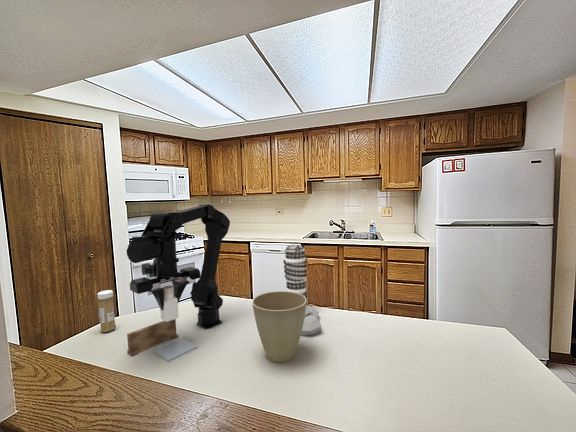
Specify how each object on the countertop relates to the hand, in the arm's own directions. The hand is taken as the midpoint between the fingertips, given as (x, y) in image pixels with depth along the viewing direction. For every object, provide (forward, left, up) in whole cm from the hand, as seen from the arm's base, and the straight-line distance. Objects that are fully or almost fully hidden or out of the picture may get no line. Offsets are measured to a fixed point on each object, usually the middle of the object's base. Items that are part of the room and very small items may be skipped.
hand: (169, 307), depth 84 cm
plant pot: (-17, +29, -13) cm, 36 cm away
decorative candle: (-45, +12, -13) cm, 48 cm away
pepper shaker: (0, 0, -4) cm, 4 cm away
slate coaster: (0, +2, -12) cm, 13 cm away
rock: (-34, +21, -13) cm, 41 cm away
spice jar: (+7, -30, -13) cm, 33 cm away
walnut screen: (+2, -7, -12) cm, 14 cm away
